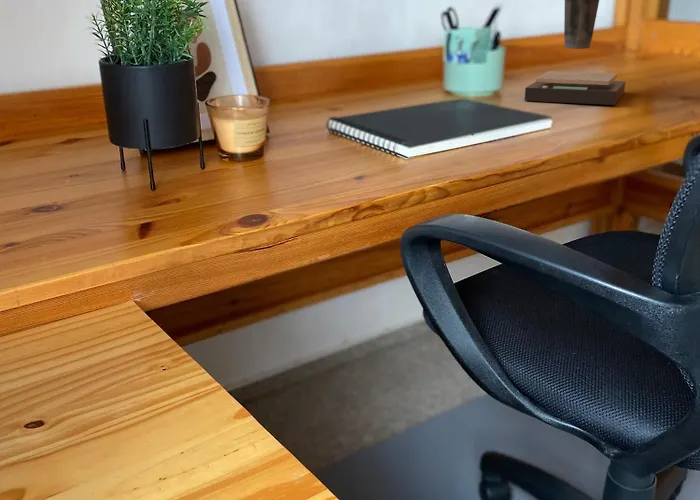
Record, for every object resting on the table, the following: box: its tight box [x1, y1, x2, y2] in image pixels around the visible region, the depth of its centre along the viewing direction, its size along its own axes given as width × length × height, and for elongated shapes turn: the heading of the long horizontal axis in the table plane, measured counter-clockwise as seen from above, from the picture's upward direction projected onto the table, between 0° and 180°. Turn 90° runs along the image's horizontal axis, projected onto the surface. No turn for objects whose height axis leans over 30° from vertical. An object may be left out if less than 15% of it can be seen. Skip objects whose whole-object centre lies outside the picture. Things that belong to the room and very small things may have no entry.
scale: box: [524, 80, 626, 106], centre depth 135 cm, size 16×14×3 cm
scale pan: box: [535, 70, 618, 85], centre depth 134 cm, size 13×11×1 cm
